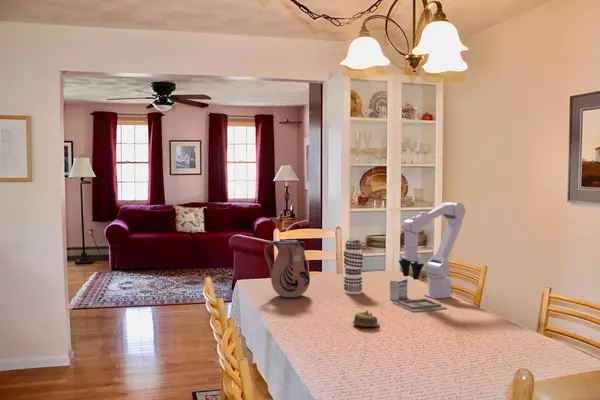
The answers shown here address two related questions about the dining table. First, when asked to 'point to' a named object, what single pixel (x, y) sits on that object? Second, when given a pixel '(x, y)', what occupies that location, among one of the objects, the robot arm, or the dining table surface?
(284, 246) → the ceramic pitcher
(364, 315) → the cake
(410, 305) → the board
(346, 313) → the dining table surface
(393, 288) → the medicine box
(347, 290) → the decorative candle
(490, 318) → the dining table surface
